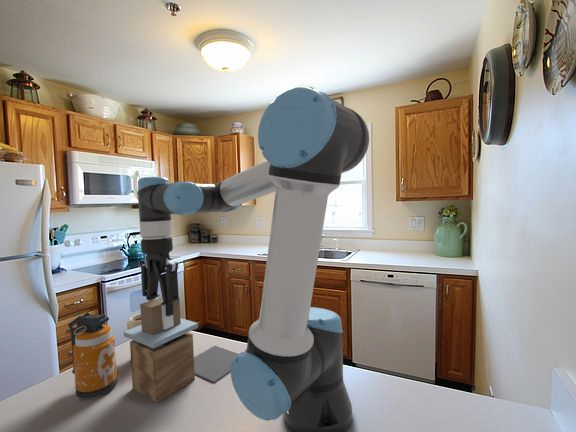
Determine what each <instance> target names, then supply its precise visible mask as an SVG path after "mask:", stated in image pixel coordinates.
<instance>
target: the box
mask: <svg viewBox="0 0 576 432" xmlns="http://www.w3.org/2000/svg"><path fill="white" fill-rule="evenodd" d="M162 345H164V346H162V347H160V348H158V349H155V348H156V347H155V348H151V347H149V346H146V345H144V344H142V343H139V342H137V341H134V340H132V339H131V340H130V341H129V347H130V349H129V350H130V352H129V353H130V365H131V383H132V384H131V385H132V389H133V390H135V391H137V392H139V394H141V395H143V396H144V397H146V398H148V399H150V400H151V401H153V402H155V403H157V404H159V403H161V402H162V401H163V400H165V399H166V398H168V397H169V396H171V395H172V394H175V393H176V392H177V391H179V390H180V389H182V388H183V387H186V386H187V385H188V384H189V383H192V382H194V380H196V377H195V376H196V375H195V373H194V357H195V355H194V335H193V333H190V332H188V333H185V334H183V335H181V336H179V337H177V338H175V339H173V340H170V341H168V342H166V343H164V344H162ZM160 346H161V345H160ZM157 347H158V346H157Z"/></svg>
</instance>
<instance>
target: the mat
mask: <svg viewBox="0 0 576 432" xmlns="http://www.w3.org/2000/svg"><path fill="white" fill-rule="evenodd" d="M238 354H239V353H237V352H235V351H232V350H228V349H226V348H223V347H220V346H217V345H213V346H212V347H209V348H207V349H206V350H204V351H202V352H201V353H199V354H198V355H194V373H195V376H197V377H200V378H201V379H205V380H206V381H209V382H211V383H214V384H216V383H217V382H218V381H219V380H221V379H222V378H224V377H225V376H226V375H229V374H231V365H232V362H233V360H234V359H235V358H236V357H237V355H238Z"/></svg>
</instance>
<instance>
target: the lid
mask: <svg viewBox="0 0 576 432" xmlns="http://www.w3.org/2000/svg"><path fill="white" fill-rule="evenodd" d="M157 298H158V299H155V300H152V301H149V302H148V301H146V302H142V303H140V305H139V309H140V310H139V311H140V313H141V325H140V326H137V327H134V328H132V329H129V330H123V337H125V338H127V339H130V340H131V341H132V340H134V341H137V342H139V343H142V344H144V345H146V346H149V347H151V348H155V347H157V346H160V345H162V344H164V343H166V342H168V341H170V340H173V339H175V338H177V337H179V336H181V335H183V334H185V333H190V332H192V331H194V330H196V329H198V328H199V323H198V322H196V321H192V320H188V319H185V318H181V305H180V303H181V302H180V299H179V300H177V301H174V302H173V312H174V313H173V322H174V326H172V327H170V328H168V329H165V330H163V326H162V308H161V303H163V298H162V296H161V297H157Z"/></svg>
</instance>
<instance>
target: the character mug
mask: <svg viewBox="0 0 576 432" xmlns="http://www.w3.org/2000/svg"><path fill="white" fill-rule="evenodd" d="M128 320H129V321H127V322H126V329H127V330H129V329H132V328H134V327H137V326H140V325H141V312H140V313H137V314H135V315H132V316H130V317H129V319H128ZM127 330H126V331H127Z"/></svg>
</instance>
